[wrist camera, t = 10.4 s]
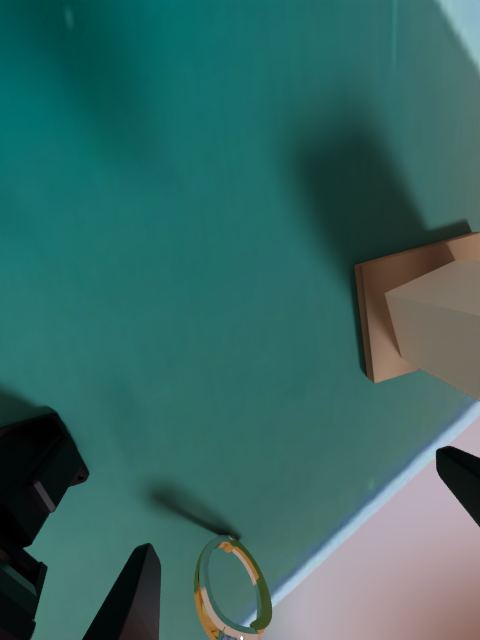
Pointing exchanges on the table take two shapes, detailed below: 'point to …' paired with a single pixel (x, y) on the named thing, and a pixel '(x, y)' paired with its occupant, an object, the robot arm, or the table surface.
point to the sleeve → (441, 324)
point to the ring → (220, 629)
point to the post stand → (388, 276)
